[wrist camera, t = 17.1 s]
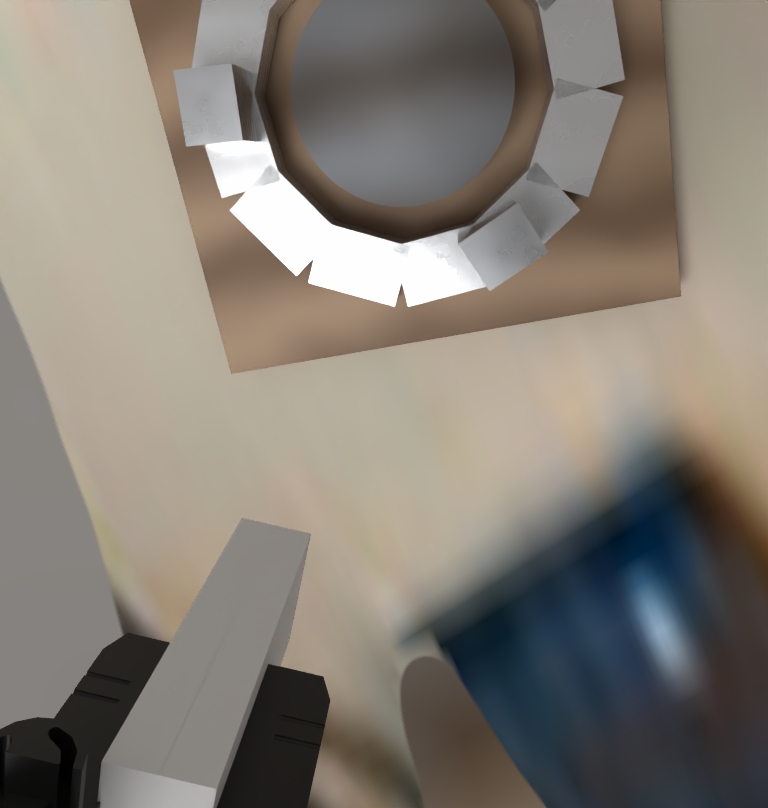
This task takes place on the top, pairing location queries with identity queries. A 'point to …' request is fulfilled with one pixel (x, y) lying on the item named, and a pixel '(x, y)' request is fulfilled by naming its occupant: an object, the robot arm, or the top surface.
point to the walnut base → (540, 291)
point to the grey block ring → (371, 251)
